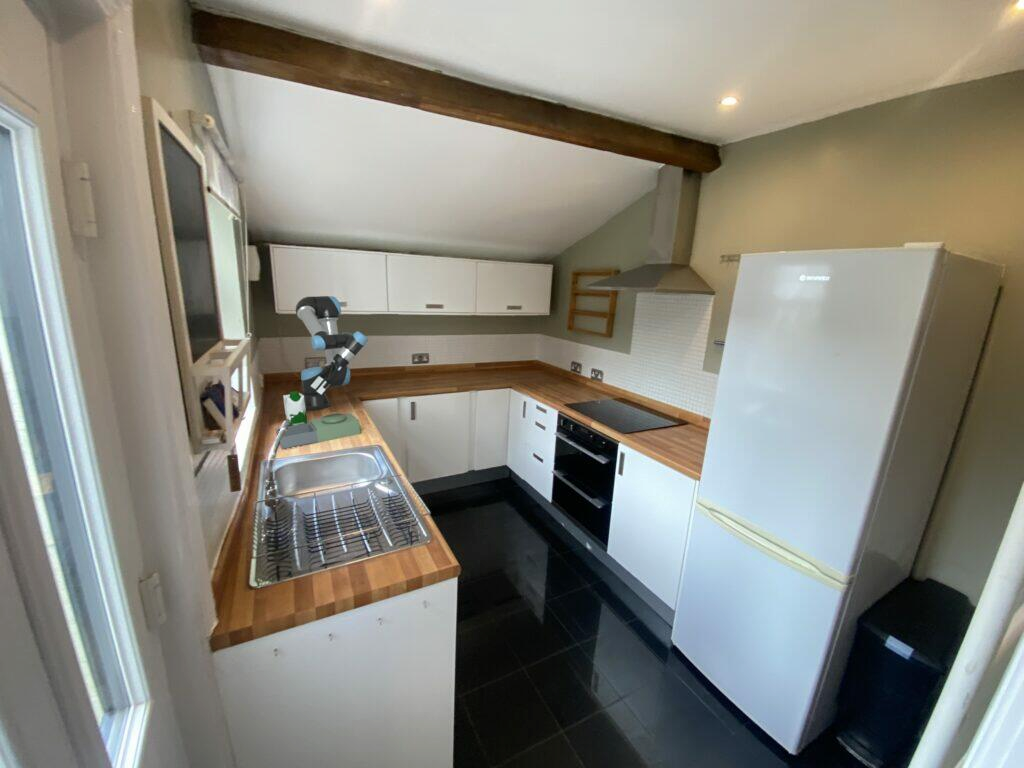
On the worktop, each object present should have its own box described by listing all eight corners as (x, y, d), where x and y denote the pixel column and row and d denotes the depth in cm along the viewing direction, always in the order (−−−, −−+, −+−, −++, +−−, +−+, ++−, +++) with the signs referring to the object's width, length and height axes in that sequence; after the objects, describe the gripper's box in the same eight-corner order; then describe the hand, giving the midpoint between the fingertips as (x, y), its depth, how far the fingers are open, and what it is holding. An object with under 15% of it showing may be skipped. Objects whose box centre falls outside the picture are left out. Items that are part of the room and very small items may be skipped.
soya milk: (290, 434, 196) (285, 394, 191) (286, 429, 203) (280, 391, 198) (310, 430, 202) (305, 391, 197) (304, 425, 208) (300, 388, 204)
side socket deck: (351, 425, 208) (349, 409, 206) (360, 433, 197) (358, 417, 195) (277, 440, 189) (274, 422, 187) (282, 450, 177) (279, 431, 175)
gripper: (356, 365, 201) (328, 399, 196) (342, 358, 220) (316, 389, 215) (344, 356, 197) (314, 390, 191) (331, 350, 216) (304, 381, 211)
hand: (315, 390), depth 203 cm, fingers open, 13 cm apart
